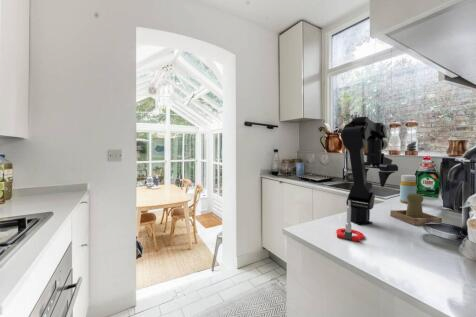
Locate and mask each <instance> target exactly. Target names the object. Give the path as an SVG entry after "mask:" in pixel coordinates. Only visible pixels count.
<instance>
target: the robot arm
mask: <svg viewBox="0 0 476 317" xmlns="http://www.w3.org/2000/svg"><path fill="white" fill-rule="evenodd" d="M340 139H341V141H342V145H343V146H344V148H345V149H346V150H347V151H348V153H349V154H348V155H349V161H350V168H351V174H352V182H353V184H352V186H351V188H350V189H349V192H348V196H347V198H346V201H345V202H346V207H348V200H350V201H351V223H354V224H356V225H358V226H362V225H370V224H373V221H370V220H371V219H370V215H371V214H370V212H371V211H370V210H372V209H374V206H375V196H376V195H375V192H374V189H373V184H372V183H371V182H368V181H367V178H368V172H369V170H370V169H379V171H377V172H378V177H379V178H378V179H379V183H380V184H379V185H380V187H381V188H384V186H385V185H386V183H387V182H388V178H389V177H390V175H392V174H394V173H396V172H399V166H398V165H397V164H394V163H393V159H391V158H388V157H386V156H385V153H384V152H382V151H385V150H386V149H387V147H388V142H387V141H386V139H388V134H387V129H386V125H385V124H384V122H374V121H373V120H372V119H370V118H369V116H355V117H353V118H352V120H351V121H350V122H349V123H347V124H345V125H344V126H343V128H342V130H341V132H340ZM365 145H366V152H364V147H365ZM365 156H366V161H365Z"/></svg>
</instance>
